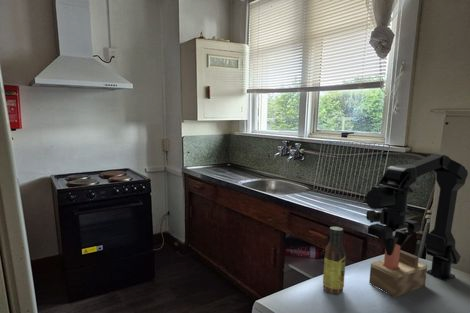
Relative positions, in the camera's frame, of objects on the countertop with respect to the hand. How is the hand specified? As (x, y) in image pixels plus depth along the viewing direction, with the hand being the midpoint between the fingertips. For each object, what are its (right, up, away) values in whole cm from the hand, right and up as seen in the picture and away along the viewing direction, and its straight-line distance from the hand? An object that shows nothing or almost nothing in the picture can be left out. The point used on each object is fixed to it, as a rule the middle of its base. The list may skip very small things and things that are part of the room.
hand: (392, 254), depth 97 cm
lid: (+3, -5, +2) cm, 7 cm away
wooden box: (+3, -11, +3) cm, 12 cm away
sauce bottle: (-19, -11, -1) cm, 22 cm away
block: (0, -5, 0) cm, 5 cm away
